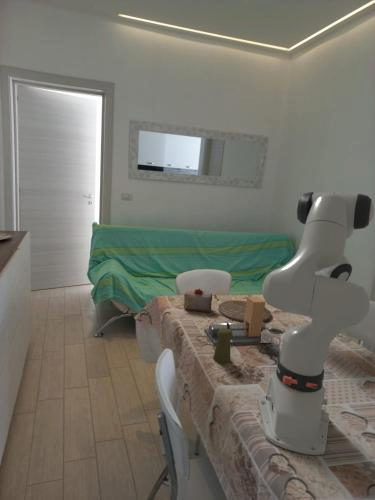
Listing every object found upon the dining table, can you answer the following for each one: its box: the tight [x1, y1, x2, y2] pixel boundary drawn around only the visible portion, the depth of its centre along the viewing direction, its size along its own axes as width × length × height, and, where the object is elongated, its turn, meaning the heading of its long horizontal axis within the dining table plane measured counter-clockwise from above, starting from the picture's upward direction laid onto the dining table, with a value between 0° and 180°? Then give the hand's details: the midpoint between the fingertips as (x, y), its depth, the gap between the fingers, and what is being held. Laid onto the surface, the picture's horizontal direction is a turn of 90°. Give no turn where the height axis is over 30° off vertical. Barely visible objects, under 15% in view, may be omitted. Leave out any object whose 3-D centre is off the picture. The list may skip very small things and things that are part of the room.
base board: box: [203, 328, 261, 346], centre depth 137 cm, size 24×12×1 cm, turn 105°
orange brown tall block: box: [243, 296, 266, 337], centre depth 137 cm, size 5×6×14 cm
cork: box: [212, 328, 233, 365], centre depth 118 cm, size 6×6×11 cm
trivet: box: [217, 299, 272, 323], centre depth 165 cm, size 25×25×2 cm
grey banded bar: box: [208, 322, 268, 338], centre depth 136 cm, size 23×4×5 cm, turn 105°
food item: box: [183, 288, 213, 313], centre depth 162 cm, size 14×8×10 cm, turn 84°
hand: (279, 281), depth 136 cm, fingers closed
